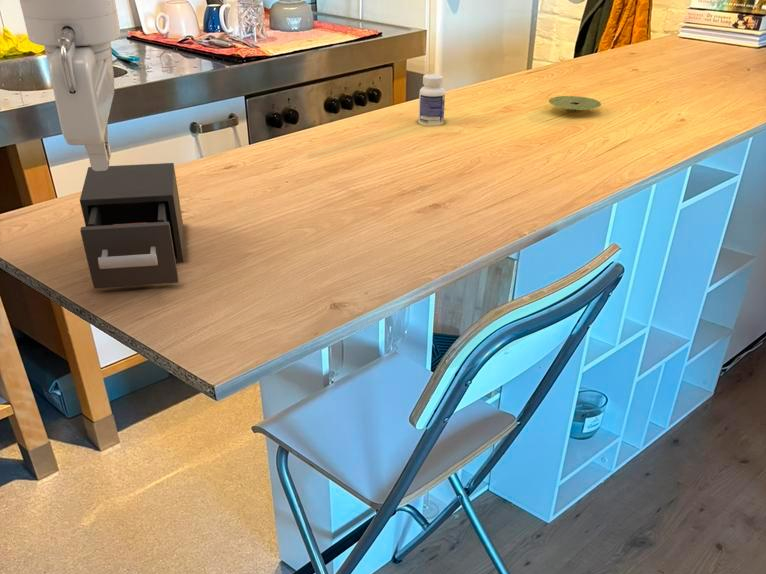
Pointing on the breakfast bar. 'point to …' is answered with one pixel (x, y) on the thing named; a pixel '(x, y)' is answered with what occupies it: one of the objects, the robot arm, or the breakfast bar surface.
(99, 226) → the drawer
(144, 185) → the cabinet
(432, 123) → the pill bottle
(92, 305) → the breakfast bar surface
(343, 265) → the breakfast bar surface
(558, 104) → the grey green disc
